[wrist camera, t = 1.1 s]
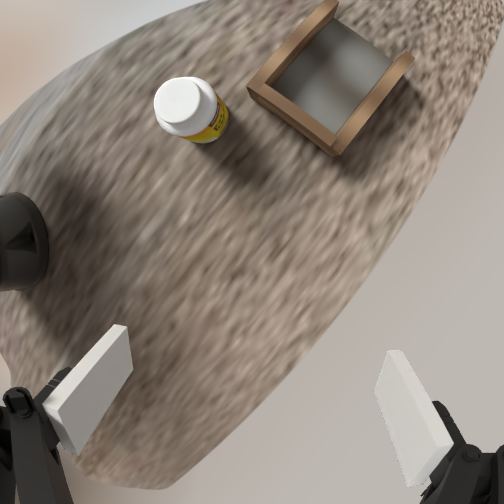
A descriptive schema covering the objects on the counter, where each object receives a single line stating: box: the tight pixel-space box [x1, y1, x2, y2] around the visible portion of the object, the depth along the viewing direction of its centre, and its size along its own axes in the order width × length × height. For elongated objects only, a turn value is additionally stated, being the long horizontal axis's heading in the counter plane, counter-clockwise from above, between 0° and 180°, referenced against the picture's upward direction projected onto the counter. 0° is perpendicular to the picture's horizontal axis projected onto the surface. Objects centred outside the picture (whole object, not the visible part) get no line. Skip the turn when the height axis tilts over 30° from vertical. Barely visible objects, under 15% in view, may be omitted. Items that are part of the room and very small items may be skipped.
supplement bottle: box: [154, 77, 229, 143], centre depth 26 cm, size 6×6×10 cm
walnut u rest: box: [246, 0, 415, 157], centre depth 26 cm, size 14×11×5 cm
